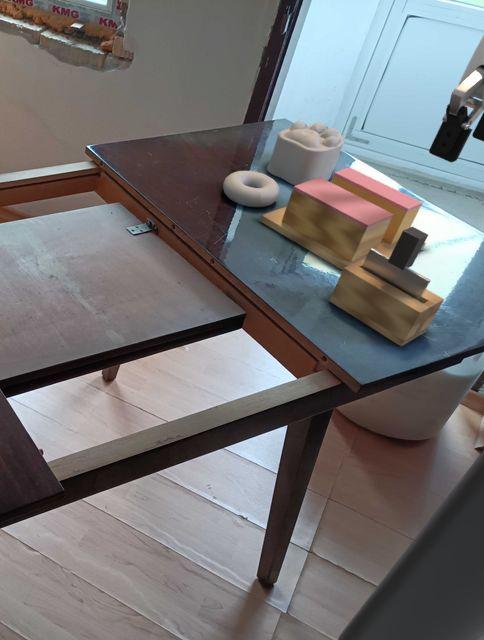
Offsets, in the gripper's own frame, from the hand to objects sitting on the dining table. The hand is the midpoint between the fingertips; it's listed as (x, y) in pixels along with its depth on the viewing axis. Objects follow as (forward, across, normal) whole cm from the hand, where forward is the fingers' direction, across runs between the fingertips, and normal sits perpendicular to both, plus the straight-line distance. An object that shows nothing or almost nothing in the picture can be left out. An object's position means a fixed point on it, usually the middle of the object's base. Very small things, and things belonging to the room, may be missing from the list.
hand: (463, 148), depth 83 cm
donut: (+26, +11, +34) cm, 44 cm away
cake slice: (+25, +20, +17) cm, 36 cm away
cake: (+26, +15, +17) cm, 35 cm away
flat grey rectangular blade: (+25, 0, +1) cm, 25 cm away
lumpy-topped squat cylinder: (+26, +29, +36) cm, 53 cm away
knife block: (+26, 0, 0) cm, 26 cm away
